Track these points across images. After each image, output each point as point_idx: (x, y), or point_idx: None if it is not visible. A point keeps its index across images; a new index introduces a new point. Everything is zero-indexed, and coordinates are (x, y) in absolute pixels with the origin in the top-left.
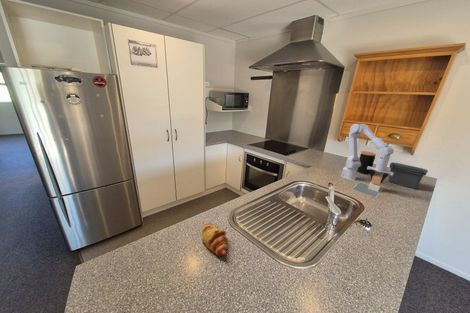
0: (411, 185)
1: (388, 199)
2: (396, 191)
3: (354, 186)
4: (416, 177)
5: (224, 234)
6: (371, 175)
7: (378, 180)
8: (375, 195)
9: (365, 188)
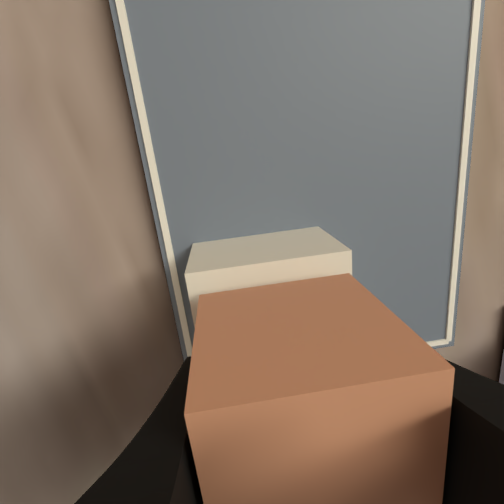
0: None
1: (6, 134)
2: (90, 479)
3: (471, 105)
4: None
5: None
6: (489, 388)
7: (244, 340)
8: (154, 51)
9: (340, 191)
